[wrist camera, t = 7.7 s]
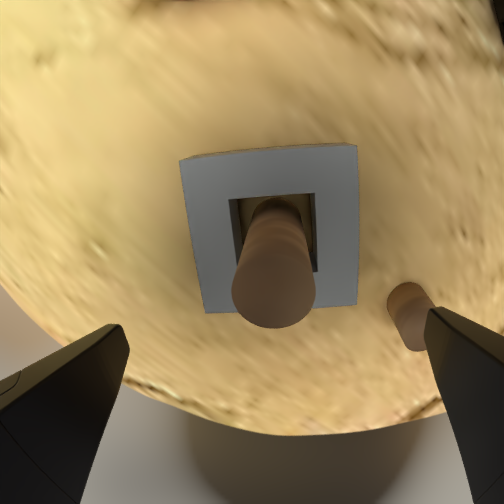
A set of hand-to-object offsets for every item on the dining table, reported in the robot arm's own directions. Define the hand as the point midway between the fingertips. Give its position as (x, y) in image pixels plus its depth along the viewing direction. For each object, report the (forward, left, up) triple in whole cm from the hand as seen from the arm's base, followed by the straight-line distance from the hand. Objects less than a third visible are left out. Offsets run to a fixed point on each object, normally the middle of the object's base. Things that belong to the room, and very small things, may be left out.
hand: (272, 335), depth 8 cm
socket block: (0, 0, -12) cm, 12 cm away
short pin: (-9, +7, -12) cm, 16 cm away
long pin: (0, 0, -12) cm, 12 cm away
